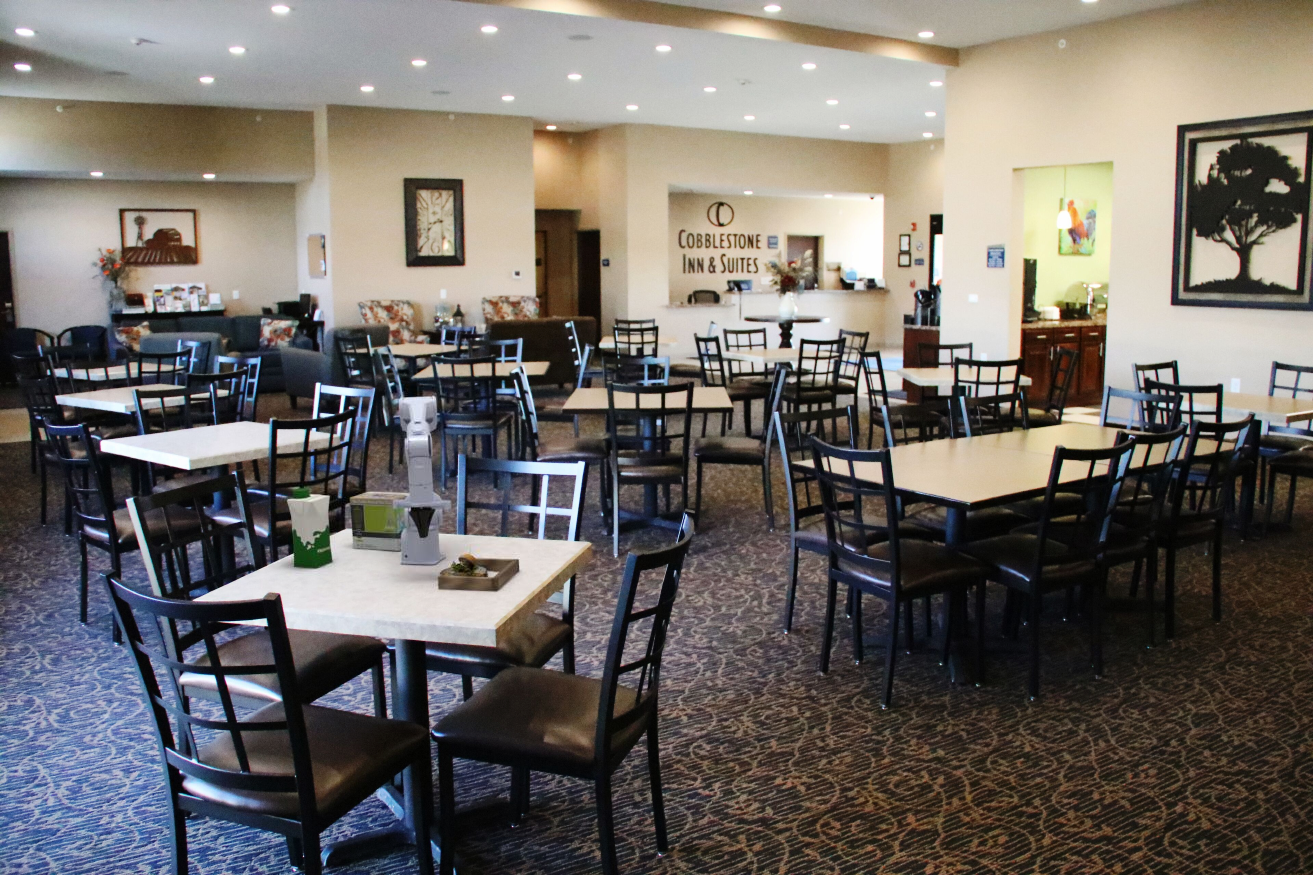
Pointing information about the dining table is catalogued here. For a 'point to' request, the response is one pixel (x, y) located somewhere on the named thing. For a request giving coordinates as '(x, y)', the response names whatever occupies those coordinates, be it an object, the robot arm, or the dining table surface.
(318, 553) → the milk carton
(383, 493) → the tea box
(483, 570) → the burger
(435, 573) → the dining table surface
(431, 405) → the robot arm
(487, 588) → the open wooden frame
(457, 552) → the dining table surface
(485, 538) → the dining table surface
